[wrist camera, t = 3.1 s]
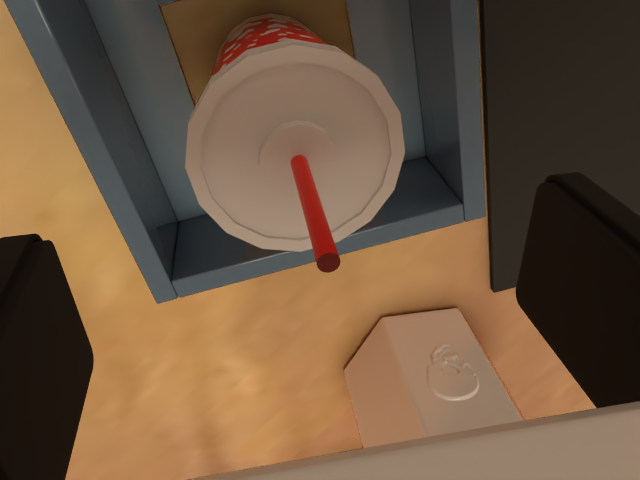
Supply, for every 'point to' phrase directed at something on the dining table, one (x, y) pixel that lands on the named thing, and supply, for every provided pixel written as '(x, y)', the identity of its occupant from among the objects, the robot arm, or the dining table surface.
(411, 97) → the blue-grey open box
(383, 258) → the dining table surface
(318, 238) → the beverage cup
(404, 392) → the jar
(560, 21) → the mat
